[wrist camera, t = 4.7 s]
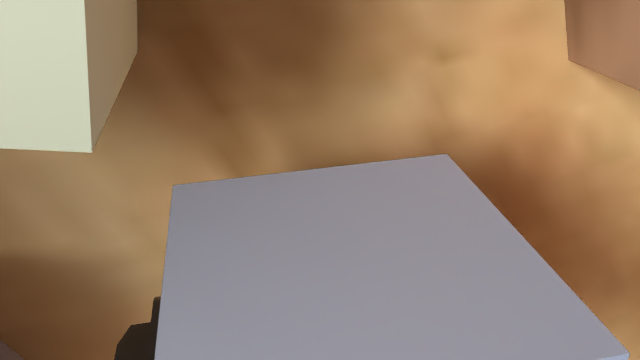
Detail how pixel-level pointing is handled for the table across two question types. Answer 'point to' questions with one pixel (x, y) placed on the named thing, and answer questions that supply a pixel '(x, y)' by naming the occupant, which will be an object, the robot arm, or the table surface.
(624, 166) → the table surface
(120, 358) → the robot arm
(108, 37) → the sage block
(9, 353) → the charcoal block
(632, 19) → the walnut block
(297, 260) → the slate blue block
